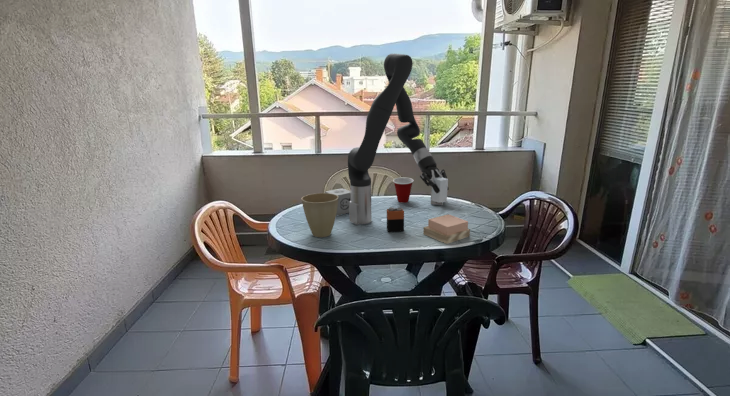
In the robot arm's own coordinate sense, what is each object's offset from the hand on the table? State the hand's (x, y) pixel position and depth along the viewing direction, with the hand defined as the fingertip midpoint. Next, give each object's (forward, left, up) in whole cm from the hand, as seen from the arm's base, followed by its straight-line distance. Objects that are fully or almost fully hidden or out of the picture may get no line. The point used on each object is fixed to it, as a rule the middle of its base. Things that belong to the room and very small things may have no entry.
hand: (442, 191), depth 163 cm
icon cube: (-28, +41, -14) cm, 52 cm away
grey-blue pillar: (0, +2, -5) cm, 5 cm away
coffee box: (+20, +23, -14) cm, 34 cm away
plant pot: (-50, +20, -14) cm, 55 cm away
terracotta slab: (-10, -13, -11) cm, 19 cm away
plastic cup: (+7, +35, -14) cm, 38 cm away
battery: (-23, +5, -14) cm, 27 cm away
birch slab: (-10, -12, -15) cm, 22 cm away
